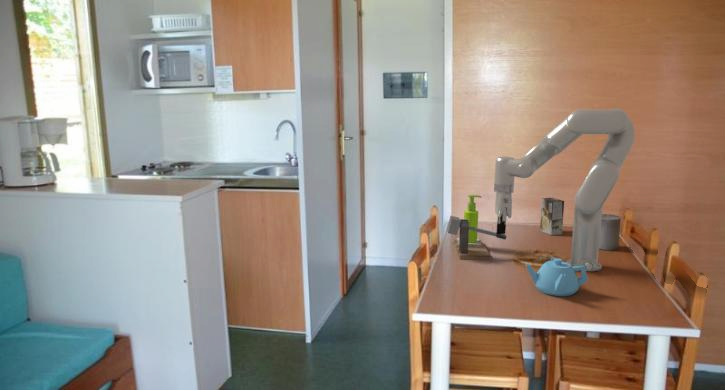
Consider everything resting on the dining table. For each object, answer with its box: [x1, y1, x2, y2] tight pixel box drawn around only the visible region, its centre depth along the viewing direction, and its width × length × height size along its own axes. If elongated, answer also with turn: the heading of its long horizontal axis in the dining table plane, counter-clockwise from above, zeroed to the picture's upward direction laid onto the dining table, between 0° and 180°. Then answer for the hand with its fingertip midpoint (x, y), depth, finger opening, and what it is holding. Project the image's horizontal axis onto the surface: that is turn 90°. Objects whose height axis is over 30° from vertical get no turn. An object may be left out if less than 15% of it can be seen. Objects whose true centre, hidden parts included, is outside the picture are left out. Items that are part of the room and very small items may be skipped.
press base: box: [452, 218, 491, 261], centre depth 223 cm, size 24×12×14 cm, turn 177°
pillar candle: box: [599, 213, 621, 252], centre depth 228 cm, size 10×10×15 cm
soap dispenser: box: [463, 194, 482, 243], centre depth 228 cm, size 6×7×20 cm
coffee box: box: [539, 197, 565, 236], centre depth 253 cm, size 9×6×16 cm
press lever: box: [446, 215, 507, 240], centre depth 215 cm, size 6×23×6 cm, turn 87°
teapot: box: [525, 256, 589, 297], centre depth 179 cm, size 15×15×11 cm
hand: (500, 233), depth 215 cm, fingers closed
